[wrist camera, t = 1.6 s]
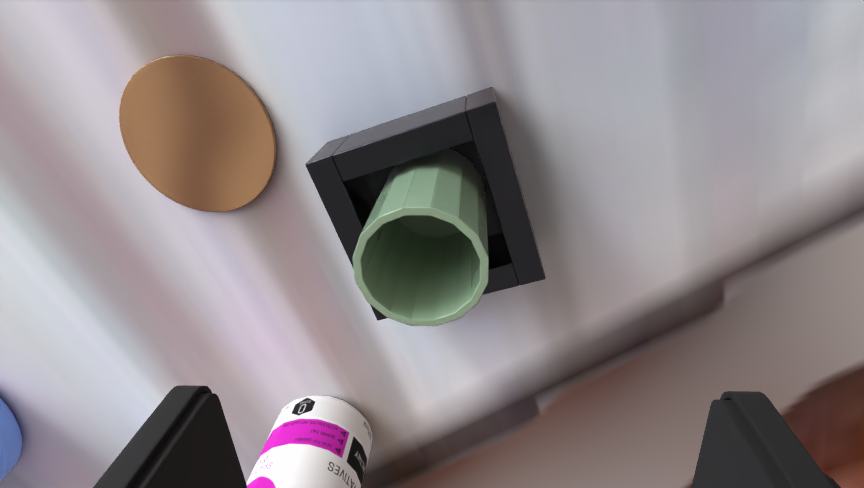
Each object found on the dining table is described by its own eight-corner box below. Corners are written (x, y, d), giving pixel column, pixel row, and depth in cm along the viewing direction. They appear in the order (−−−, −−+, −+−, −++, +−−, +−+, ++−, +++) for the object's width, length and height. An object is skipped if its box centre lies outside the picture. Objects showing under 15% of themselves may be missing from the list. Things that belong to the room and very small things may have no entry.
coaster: (148, 210, 34) (145, 212, 34) (101, 57, 30) (96, 57, 30) (288, 209, 34) (286, 212, 33) (261, 52, 29) (258, 52, 29)
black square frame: (388, 283, 36) (377, 321, 32) (326, 142, 31) (304, 164, 27) (537, 244, 33) (545, 279, 29) (492, 86, 29) (495, 101, 25)
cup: (390, 239, 34) (360, 325, 25) (382, 147, 31) (345, 207, 22) (484, 239, 33) (487, 327, 25) (485, 146, 31) (489, 207, 22)
